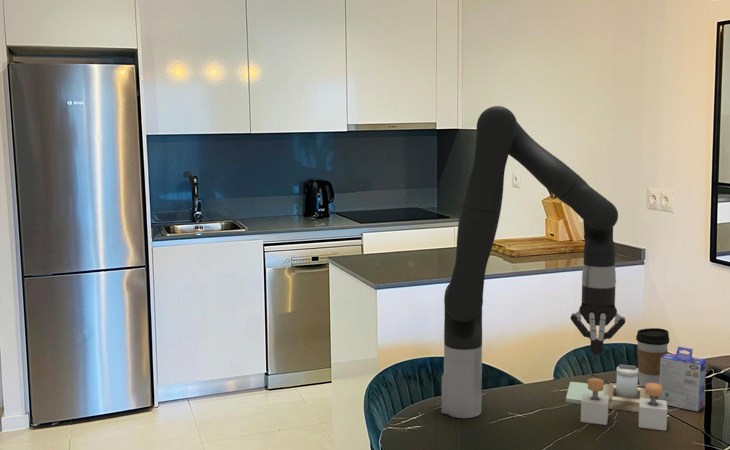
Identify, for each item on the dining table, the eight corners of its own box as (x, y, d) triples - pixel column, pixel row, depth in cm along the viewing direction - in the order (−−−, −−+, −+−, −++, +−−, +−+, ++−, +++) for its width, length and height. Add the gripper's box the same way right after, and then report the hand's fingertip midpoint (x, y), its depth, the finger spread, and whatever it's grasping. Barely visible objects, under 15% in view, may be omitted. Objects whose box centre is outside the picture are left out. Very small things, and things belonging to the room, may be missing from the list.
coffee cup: (672, 389, 196) (675, 335, 194) (640, 390, 196) (642, 335, 194) (660, 379, 204) (662, 326, 202) (629, 379, 204) (631, 326, 202)
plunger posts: (580, 421, 176) (581, 401, 175) (582, 410, 183) (583, 391, 182) (666, 432, 169) (667, 411, 169) (665, 420, 176) (666, 400, 175)
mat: (565, 402, 188) (565, 398, 188) (570, 385, 200) (570, 381, 200) (602, 406, 185) (602, 402, 185) (604, 388, 197) (605, 385, 197)
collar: (602, 408, 184) (602, 398, 184) (604, 392, 194) (604, 383, 194) (649, 413, 180) (650, 403, 180) (649, 397, 191) (649, 388, 190)
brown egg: (644, 411, 173) (645, 387, 172) (644, 406, 176) (645, 382, 175) (661, 413, 171) (662, 388, 171) (660, 408, 175) (662, 383, 174)
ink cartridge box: (704, 405, 185) (707, 350, 183) (699, 412, 181) (702, 355, 179) (663, 397, 191) (666, 343, 189) (657, 404, 187) (660, 348, 185)
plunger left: (586, 406, 176) (587, 382, 175) (587, 401, 180) (588, 377, 179) (602, 408, 175) (603, 384, 174) (603, 402, 178) (604, 379, 178)
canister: (615, 405, 186) (616, 367, 185) (615, 398, 191) (617, 361, 189) (637, 407, 184) (638, 370, 183) (637, 400, 189) (638, 363, 188)
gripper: (568, 285, 172) (566, 356, 174) (628, 288, 167) (625, 362, 170) (570, 278, 179) (569, 347, 181) (628, 281, 174) (626, 352, 177)
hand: (596, 354), depth 176 cm, fingers closed
